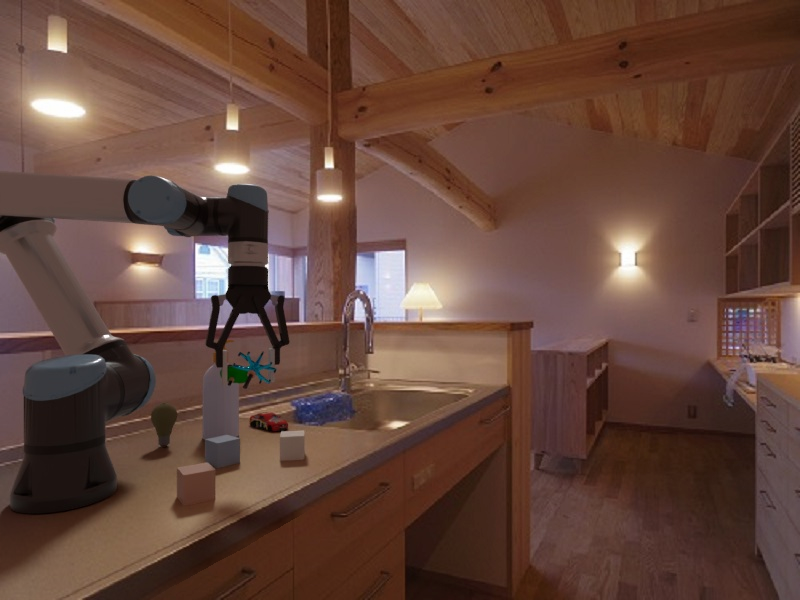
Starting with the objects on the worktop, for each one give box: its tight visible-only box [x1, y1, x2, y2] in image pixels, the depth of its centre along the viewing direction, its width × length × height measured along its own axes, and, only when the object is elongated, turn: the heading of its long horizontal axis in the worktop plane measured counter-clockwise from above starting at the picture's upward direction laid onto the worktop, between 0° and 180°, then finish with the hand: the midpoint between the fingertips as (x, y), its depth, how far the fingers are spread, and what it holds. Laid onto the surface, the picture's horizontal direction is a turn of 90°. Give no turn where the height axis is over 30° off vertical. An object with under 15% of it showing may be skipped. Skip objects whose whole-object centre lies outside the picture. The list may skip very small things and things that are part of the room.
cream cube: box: [279, 430, 306, 462], centre depth 110 cm, size 5×5×5 cm
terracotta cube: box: [176, 462, 216, 507], centre depth 86 cm, size 5×5×5 cm
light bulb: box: [150, 402, 178, 448], centre depth 119 cm, size 6×6×10 cm
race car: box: [249, 411, 289, 433], centre depth 138 cm, size 13×5×4 cm, turn 47°
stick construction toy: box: [220, 350, 277, 390], centre depth 98 cm, size 12×7×8 cm
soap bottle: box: [201, 339, 240, 440], centre depth 128 cm, size 9×9×24 cm
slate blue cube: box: [204, 435, 241, 469], centre depth 106 cm, size 5×5×5 cm
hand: (248, 383), depth 100 cm, fingers closed on stick construction toy, 8 cm apart
